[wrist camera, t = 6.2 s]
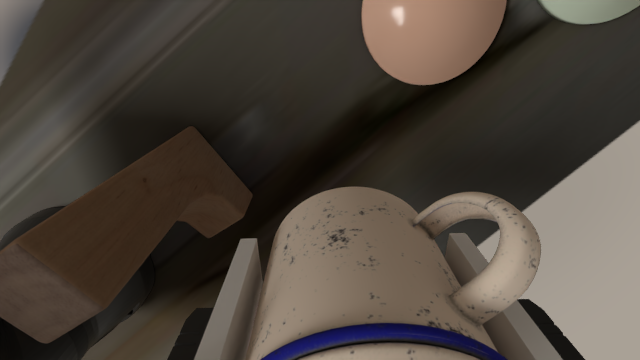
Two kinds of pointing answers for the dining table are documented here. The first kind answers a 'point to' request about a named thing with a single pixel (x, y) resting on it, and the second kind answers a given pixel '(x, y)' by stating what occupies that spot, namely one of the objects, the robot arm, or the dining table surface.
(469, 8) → the pink coaster
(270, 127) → the dining table surface
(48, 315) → the wooden block
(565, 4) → the sage coaster
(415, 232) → the teacup with lid
